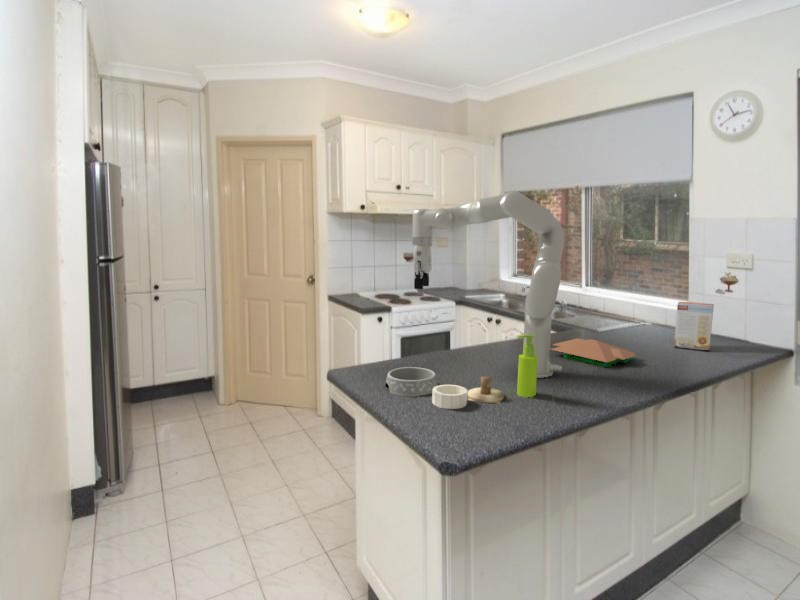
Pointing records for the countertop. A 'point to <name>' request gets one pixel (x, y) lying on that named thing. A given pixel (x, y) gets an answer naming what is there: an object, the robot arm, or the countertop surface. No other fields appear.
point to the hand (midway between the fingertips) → (421, 287)
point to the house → (593, 350)
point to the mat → (473, 400)
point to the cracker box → (693, 324)
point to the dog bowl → (411, 381)
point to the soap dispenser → (527, 369)
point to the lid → (485, 392)
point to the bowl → (449, 396)
